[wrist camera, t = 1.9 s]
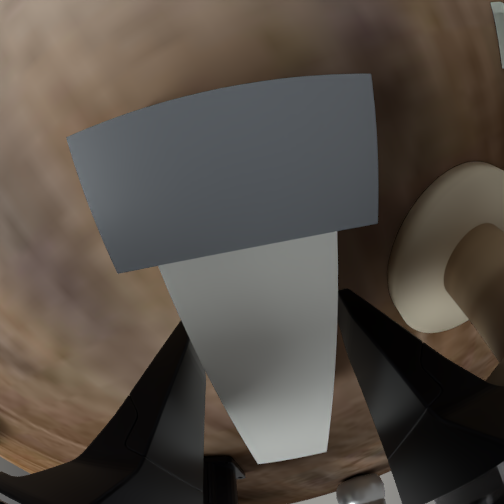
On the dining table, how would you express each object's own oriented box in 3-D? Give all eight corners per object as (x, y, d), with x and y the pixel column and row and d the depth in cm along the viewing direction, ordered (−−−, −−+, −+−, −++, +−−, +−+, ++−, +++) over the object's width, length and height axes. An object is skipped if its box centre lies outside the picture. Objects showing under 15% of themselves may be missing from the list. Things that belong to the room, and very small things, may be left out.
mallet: (321, 383, 14) (341, 455, 11) (239, 398, 14) (245, 472, 11) (299, 79, 7) (371, 73, 3) (142, 111, 7) (66, 137, 3)
